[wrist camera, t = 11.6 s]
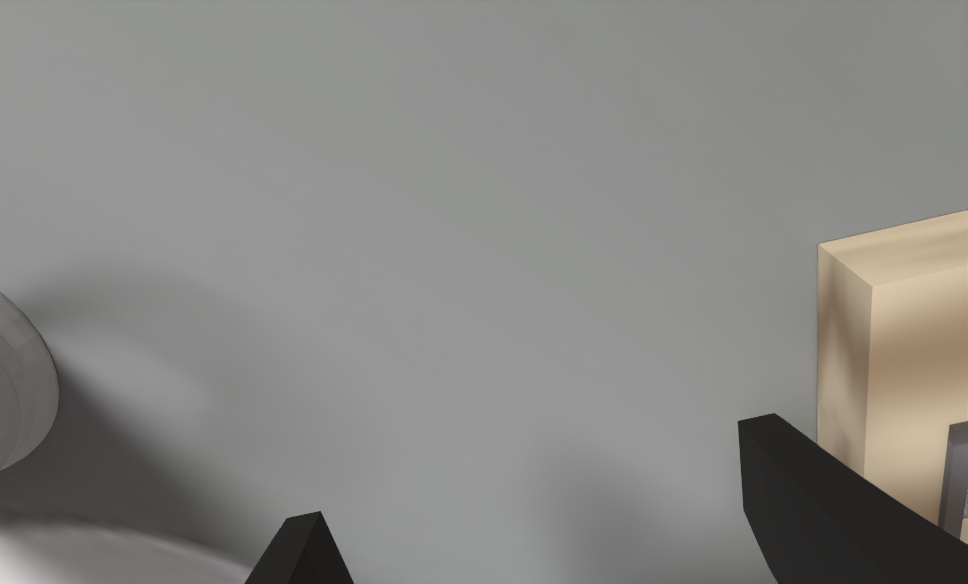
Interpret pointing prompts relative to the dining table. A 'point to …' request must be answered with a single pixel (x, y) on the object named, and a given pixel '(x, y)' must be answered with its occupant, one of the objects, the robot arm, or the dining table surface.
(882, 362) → the socket plate
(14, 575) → the dining table surface
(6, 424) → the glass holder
